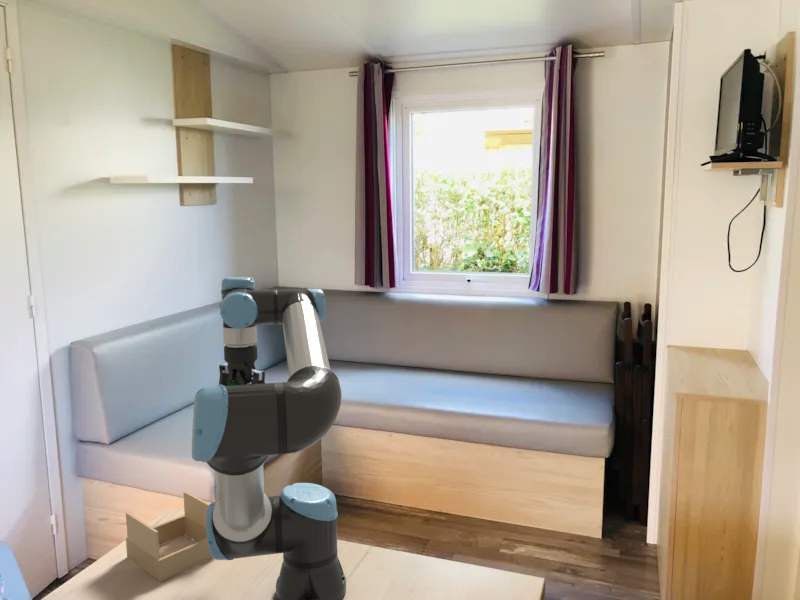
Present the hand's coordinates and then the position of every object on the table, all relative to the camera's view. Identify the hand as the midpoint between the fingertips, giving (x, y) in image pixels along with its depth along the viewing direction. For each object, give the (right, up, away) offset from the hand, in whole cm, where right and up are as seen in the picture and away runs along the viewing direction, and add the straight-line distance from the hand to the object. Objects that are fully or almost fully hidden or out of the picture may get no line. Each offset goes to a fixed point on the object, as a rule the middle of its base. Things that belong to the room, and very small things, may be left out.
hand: (244, 438), depth 152 cm
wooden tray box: (-18, -29, +4) cm, 34 cm away
